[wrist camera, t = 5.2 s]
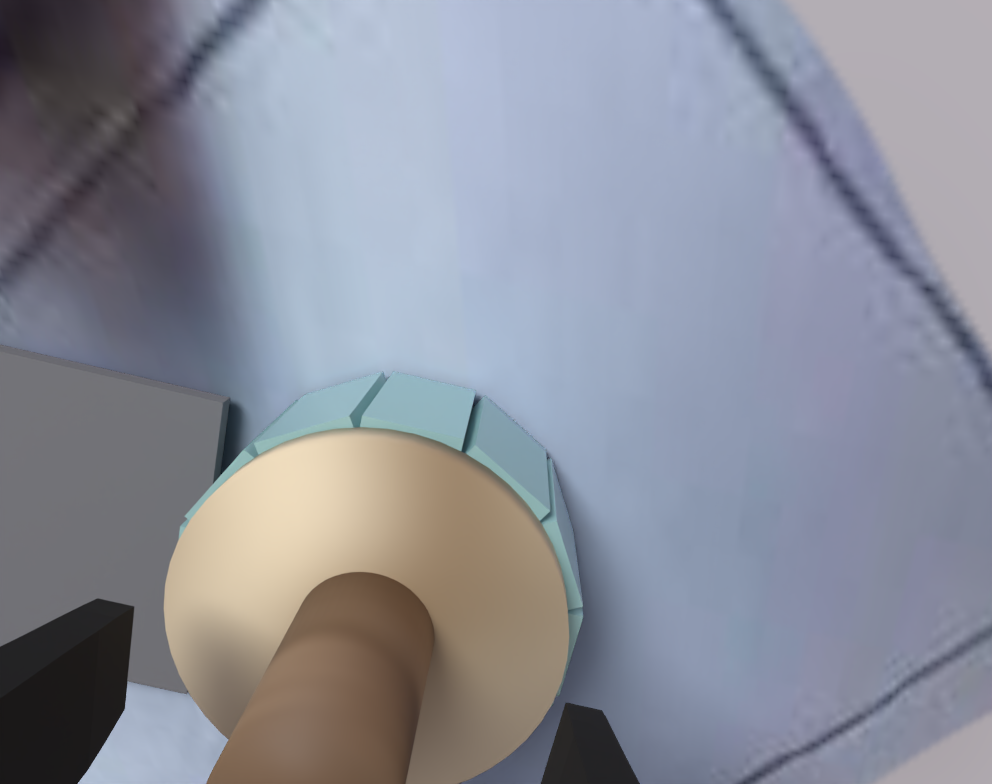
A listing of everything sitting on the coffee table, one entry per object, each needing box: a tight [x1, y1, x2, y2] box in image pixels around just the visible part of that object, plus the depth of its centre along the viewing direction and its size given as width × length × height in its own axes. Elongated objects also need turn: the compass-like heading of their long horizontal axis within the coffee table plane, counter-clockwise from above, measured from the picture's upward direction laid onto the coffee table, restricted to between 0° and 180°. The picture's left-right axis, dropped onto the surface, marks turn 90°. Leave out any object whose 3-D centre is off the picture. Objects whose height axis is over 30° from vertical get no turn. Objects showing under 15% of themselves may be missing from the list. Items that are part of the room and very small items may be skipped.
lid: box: [164, 427, 569, 784], centre depth 12 cm, size 8×8×5 cm
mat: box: [0, 345, 230, 694], centre depth 17 cm, size 8×8×1 cm
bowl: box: [179, 371, 583, 706], centre depth 16 cm, size 8×8×3 cm
